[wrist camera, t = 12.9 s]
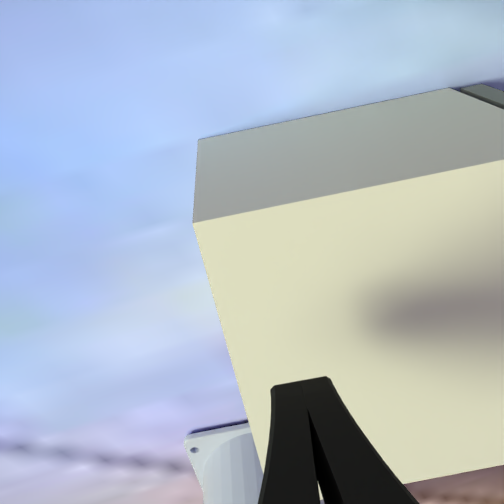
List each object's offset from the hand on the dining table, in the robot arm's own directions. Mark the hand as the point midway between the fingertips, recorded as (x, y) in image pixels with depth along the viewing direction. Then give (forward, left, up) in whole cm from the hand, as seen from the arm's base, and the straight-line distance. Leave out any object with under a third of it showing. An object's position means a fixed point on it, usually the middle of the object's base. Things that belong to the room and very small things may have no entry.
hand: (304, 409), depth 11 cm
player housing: (-2, -3, -10) cm, 11 cm away
